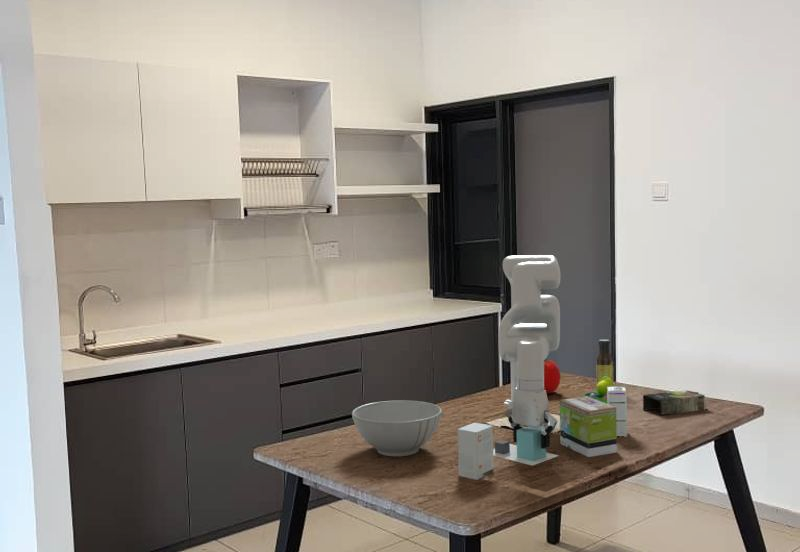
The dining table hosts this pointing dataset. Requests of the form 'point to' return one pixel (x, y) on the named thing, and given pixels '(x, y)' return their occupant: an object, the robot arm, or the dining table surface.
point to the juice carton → (674, 402)
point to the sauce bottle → (604, 362)
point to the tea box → (588, 426)
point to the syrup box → (619, 408)
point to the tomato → (551, 376)
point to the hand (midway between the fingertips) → (531, 444)
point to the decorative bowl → (397, 425)
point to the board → (515, 453)
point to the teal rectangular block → (530, 444)
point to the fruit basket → (601, 390)
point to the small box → (475, 450)
